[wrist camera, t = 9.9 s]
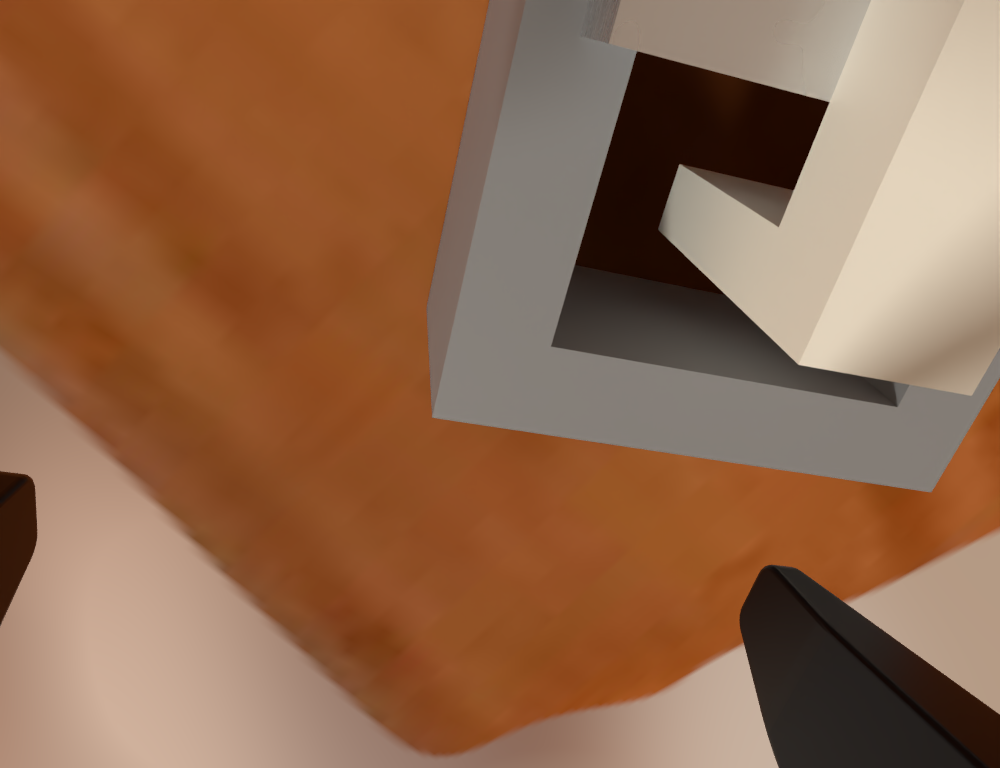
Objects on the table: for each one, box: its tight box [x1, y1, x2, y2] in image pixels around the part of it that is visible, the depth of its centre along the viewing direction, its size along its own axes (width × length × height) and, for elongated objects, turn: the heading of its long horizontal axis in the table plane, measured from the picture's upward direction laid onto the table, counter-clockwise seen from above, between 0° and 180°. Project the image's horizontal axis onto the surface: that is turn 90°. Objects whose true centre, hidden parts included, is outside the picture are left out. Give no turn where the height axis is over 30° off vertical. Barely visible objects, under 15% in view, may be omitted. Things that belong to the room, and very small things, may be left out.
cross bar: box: [580, 0, 871, 102], centre depth 12 cm, size 10×2×2 cm, turn 76°
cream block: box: [658, 0, 1000, 396], centre depth 12 cm, size 3×9×7 cm, turn 167°
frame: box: [427, 0, 1000, 492], centre depth 15 cm, size 12×17×6 cm
